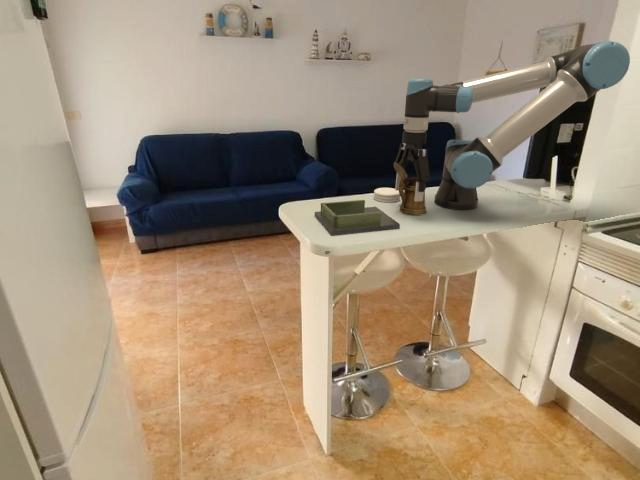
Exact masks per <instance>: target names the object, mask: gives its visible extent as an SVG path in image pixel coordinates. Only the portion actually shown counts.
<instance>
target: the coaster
mask: <svg viewBox="0 0 640 480" xmlns="http://www.w3.org/2000/svg"><path fill="white" fill-rule="evenodd" d="M373 192H374V193H373V200H375V201H377V202H378V203H383V204H384V203H385V204H388V203H389V204H393V203H399V202H400V200H401V196H400V194H399V190H395V187H394V188H392V187H378V188H376V189H374V190H373Z"/></svg>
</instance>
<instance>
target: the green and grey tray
mask: <svg viewBox="0 0 640 480" xmlns="http://www.w3.org/2000/svg"><path fill="white" fill-rule="evenodd" d="M365 205H366V200H365V199H355V200H343V201H342V200H341V201H331V202H321V203H320V210H319V211H314V218H315V219H317V221H318V223H320V224H321V226H322V227H323V226H324V227H323V228H324V229H325V230H326V232H327V233H328V234H329V235H330V236H332V237H333V236H342V235H352V234H362V233H371V232H382V231H383V232H384V231H389V230H392V231H393V230H400V229H401V228H400V226H401V224H400V223H399V222H398V221H396V220H395V219H394V218H392V217H391V216H389V215H388V214H387V213H385V212H384V211H382V210H381V209H380V208H379V207H377V206H369V207H365Z"/></svg>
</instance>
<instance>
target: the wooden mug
mask: <svg viewBox="0 0 640 480" xmlns="http://www.w3.org/2000/svg"><path fill="white" fill-rule="evenodd" d="M393 169H394V171H395V172H396V174H397V173H398V174H399V176H400V177H401V178H402V179H401V181H400V184H399V194H400V200H402V201H401V204H400V205H399V210H398V211H399V212H401V213H402V214H404V215H409V216H422V215H425V214H426V213H427V208H426V194H425V193H426V189H427V186H426V184H425V189H424V195H423V201H417V202H415V201H414V198H415V189H416V181H417V180H418V178H417V177H409V175H408V172H407V170H406V168H405V169H404V168H403V167H402V166H401V165H400V164H399V163H397V162H396V160H394V162H393Z"/></svg>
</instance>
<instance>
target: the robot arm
mask: <svg viewBox="0 0 640 480" xmlns="http://www.w3.org/2000/svg"><path fill="white" fill-rule="evenodd" d="M630 56H631V55H630V53H629V50H628V49H627V47H625V45H623V44H622V43H620V42H616V41H611V40H604V41H600V42H598V43H597V42H596V43H589V44H584V45H581V46H578V47H575V48H573V49H570V50H568V51H564V52H562V53H558V54H556V55H551V56H548V57H547V58H545V60H544V61H541V62H537V63H532V64H528V65H525V66H520V67H518V68H512V69H509V70H503V71H500V72H496V73H492V74H487V75H483V76H479V77H474V78H471V79H467V80H463V81H459V82H455V83H450V84H444V85H434V81H433V79H431V78H410V79H409V80H408V81H407V82H408V83H407V86H406V93H405V94H406V95H405V107H404V117H403V122H402V123H403V131H402V139H401V143H400V144H399V148H398V149H399V150H398V153H397V155H396V158H395V161H396V162H397V163H399V164H400V165H401V166H402V167H403V168H404V169H405V170H406V168H407V165H408V163H409V162H411V164H413V166H414V170H415V174H416V178H418V180H417V181H416V189H415V198H414V201H415V202H417V201H423V195H424V189H425V185H426V182H430V181H431V174H430V173H431V172H430V167H429V159H428V155H429V154H428V152H429V151H428V150H429V149H426V148H425V149H423V145H425V144H426V143H427V137H428V133H427V131H428V127H429V120H430V119H429V118H430V112H433V113H435V112H436V113H437V112H439V113H441V112H442V113H456V114H459V113H468V112H469V111H470V110H471V108H472V105H473V104H475V103H479V102H482V101H483V102H485V101H488V100H493V99H498V98H501V97H506V96H510V95H515V94H520V93H524V92H528V91H533V90H537V89H542V88H544V89H542V90H541V91H540V92H539V93H538V94H536V95H535V96H534V97H533V98H531V99H530V100H529V101H528V102H526V103H525V104H524V105H522V106H521V107H520V108H519V109H518V110H517V111H515V112H514V113H513V114H512V115H511V116H509V117H508V118H507V119H505V120H504V121H503V122H502V123H501V124H500V125H498V126H497V127H496V128H494V129H493V130H492V131H490V132H489V133H488V134H487V135H485V136H477V137H476V138H474V139H473V140H469V139H468V140H467V139H466V140H465V139H464V140H463V139H449V140H448V141H447V142H446V146H445V154H444V155H445V156H444V163H443V171H442V179H441V182H440V184H439V187H438V189H437V191H436V193H435V195H434V201H433V202H434V204H436V205H438V206H440V207H441V208H446V209H450V210H460V211H461V210H464V211H465V210H466V211H467V210H472V209H473V210H474V209H476V208H477V207H478V205H479V197H478V190H477V188H480V187H482V186H483V185H485V184H486V183H487V182H488V181H489V180H490V179H491V177H492V174H493V173H494V172H495V171H496V170H497V169H498V168H500V167H502V165H503V160H504V158H505V157H506V156H507V155H508V154H510V153H511V152H513V151H514V150H516V149H517V148H518V147H519V146H520V145H522V144H523V143H525V141H527V140H528V139H530V137H532V136H533V135H535V134H537V132H538V131H540V130H541V129H542V128H544V127H545V126H547V125H548V124H549V123H550V122H552V121H554V119H556V118H557V117H558V116H559V115H560V114H561V115H562V113H563V112H565V111H566V110H567V109H568V108H570V107H571V106H572V105H573V104H575V103H577V102H586V101H588V100H589V99H591V98H592V97H593V96H595V94H598V92H599V91H601V90H606V89H609V88H611V87H613V86H615V85H617V84H618V83H619V82H621V81H622V80H623V79H624V77H625V76H626V75H627V73H628V71H629V69H630V68H629V67H630V63H631V57H630ZM401 179H402V178H401V177H400V176H399V174H398V173H397V172H396V179H395V187H394V189H395V190H399V184H400V181H401ZM425 190H426V189H425Z"/></svg>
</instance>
